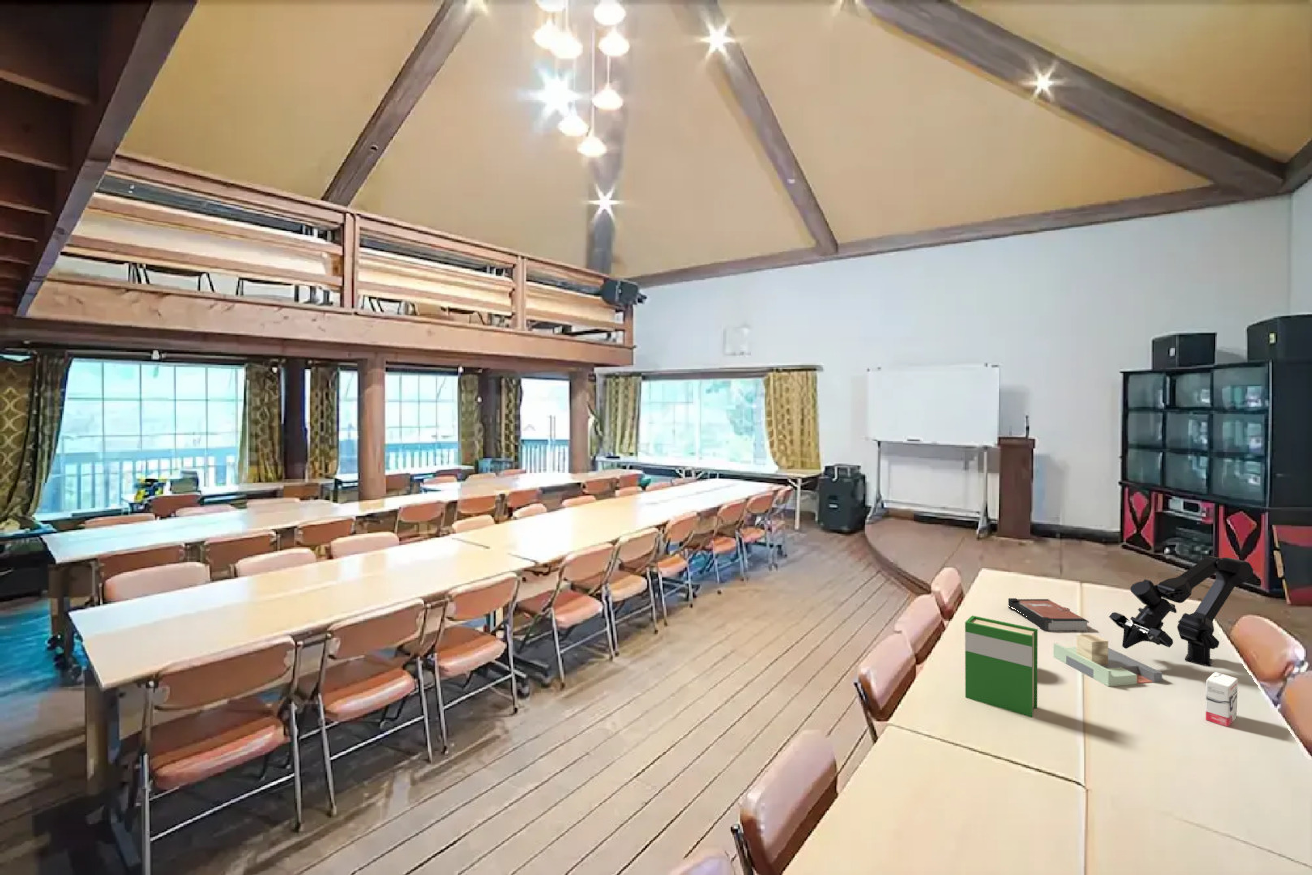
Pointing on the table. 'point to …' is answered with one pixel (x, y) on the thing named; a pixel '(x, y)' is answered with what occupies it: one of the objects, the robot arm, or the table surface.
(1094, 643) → the beech block
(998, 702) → the hardback book
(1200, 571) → the robot arm
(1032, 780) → the table surface
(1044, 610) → the book
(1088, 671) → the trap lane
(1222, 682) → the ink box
